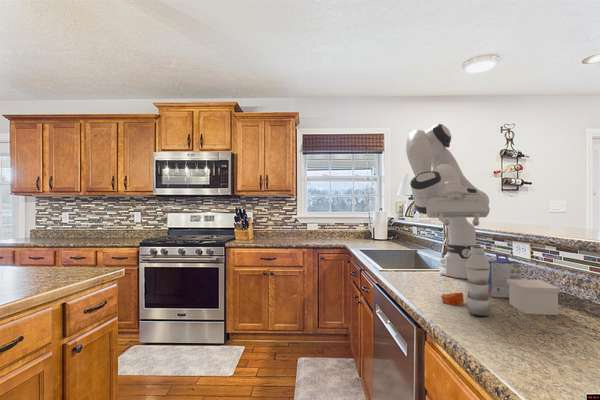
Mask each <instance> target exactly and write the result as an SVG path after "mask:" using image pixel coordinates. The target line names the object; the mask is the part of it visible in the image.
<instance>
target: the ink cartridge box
mask: <svg viewBox="0 0 600 400" xmlns="http://www.w3.org/2000/svg"><path fill="white" fill-rule="evenodd" d="M499 257H501V258H499ZM503 257H504V258H503ZM495 258H496V260H488V262H489V264H490V272H489V279H488V292H489V297H492V298H508V299H509V284H508V283H507V279H520V280H523V272H522V271H523V270H522V263H521V262H519V261H517V260H509V257H508V255H507V254H499V253H497V254H495Z"/></svg>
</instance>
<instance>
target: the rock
mask: <svg viewBox="0 0 600 400" xmlns="http://www.w3.org/2000/svg"><path fill="white" fill-rule="evenodd" d="M440 298H441V300H442V301H443V303H444V304H446V305H453V306H454V305H455V306H456V305H458V306H462V305H464V302H465V301H464V293H463V292H452V293H441V295H440Z"/></svg>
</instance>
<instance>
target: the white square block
mask: <svg viewBox="0 0 600 400" xmlns="http://www.w3.org/2000/svg"><path fill="white" fill-rule="evenodd" d="M507 283H508V284H509V298H508V299H509V305H510V306H512V307H513V308H515V309H516V310H518V311H519V312H521V313H522V314H523V315H524V314H525V315H542V316H543V315H545V316H546V315H547V316H559V293H561V291H562V290H561V287H558V286H555V285H554V284H552V283H549V282H546V281H544V280H542V279H522V280H520V279H507Z"/></svg>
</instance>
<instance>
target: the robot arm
mask: <svg viewBox="0 0 600 400" xmlns="http://www.w3.org/2000/svg"><path fill="white" fill-rule="evenodd" d="M451 140H452V135H451V131H450V130H449V128H448V127H447V126H445V125H444V124H441V123H438V124H435V125H433V126H432V127H431V128H429V129H427V130H425V131H424V130H422V129H415V130H413V131H412V132H410V133H409V134H408V136H407V140H406V144H405V145H406V146H405V152H406V157H407V160H408V162H409V165H410V167H411V170H412V173H413V174H414V176H413V177H412V178H411V180H410V183H409V184H410V188H411V193H412V198H413V202H414V209H415V210H416V211H417V212H418V213H420V214H424V215H426V216H427V217H428V218H430V219H438V221H440V222H441V223H442V224H443V226H444V227H447V236H448V238H447V239H448V243H447V245H446V249H447V250H446V251H447V252H446V254H445V256H444V257H443V258H441V259H440V264H441V265H442V266H439V267H438V270H439V275H441V276H447V277H452V278H457V279H467V280H468V276H467V270H466V261H467V260H468V258H469V257H470V256H471V253H470V251H471V247H472V246H478V245H477V241H476V239H477V238H476V236H477V235H476V234H477V233H476V230H477V229H476V226H477V227H478V226H479V225H480V220H479V219H480V218H487V216H488V215H489V214H490V209H491V208H490V206H489V205H490V198H489V196H488V194H487V193H485V192H484V191H482V190H480V189H479V188H477V187H476V186H474V185H473V184H472V182H470V181H469V180H468V179H467V178H466V176H465V175H464V173H463V171H462V170H461V168H460V166H459V164H458V161H457V160H456V158H455V157H454V155H453V154H452V153H451V151H450V150H449V149H448V148H450V146H451V144H450V143H451V142H452V141H451ZM467 218H473V219H472V223H470V222H469V221H468V219H467Z"/></svg>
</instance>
